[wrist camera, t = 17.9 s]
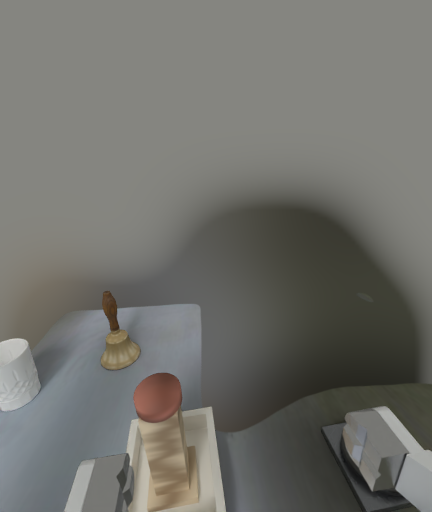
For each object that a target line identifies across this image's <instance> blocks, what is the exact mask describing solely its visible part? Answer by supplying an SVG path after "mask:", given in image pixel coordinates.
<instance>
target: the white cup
mask: <svg viewBox="0 0 432 512" xmlns="http://www.w3.org/2000/svg"><path fill="white" fill-rule="evenodd" d="M40 388H41V385H40V381H39V379H38V372H37V369H36V365H35V362H34V359H33V356H32V353H31V351H30V347H29V344H28V342H27V340H25V339H21V338H16V339H10V340H6V341H3V342H0V410H2V411H13V410H16V409H18V408H21V407H23V406H24V405H26V404H27V403H29V402H30V401H32V400H33V399H34V398H35V396H36V395H37V394H38V393H39V391H40Z"/></svg>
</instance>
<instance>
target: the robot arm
mask: <svg viewBox="0 0 432 512" xmlns="http://www.w3.org/2000/svg"><path fill="white" fill-rule="evenodd" d="M345 420H346V422H347V424H346V425H345V426H344V427H343V438H344V442H345V444H346V447H347V449H348V451H349V453H350V454H351V456H352V457H353V458H355V459H356V460H357V461H359V468H360V472H361V473H362V475H363V477H364V478H365V480H366V482H367V483H368V485H369V487H370V489H371V490H372V492H373V491H378V490H384V489H389V488H395V487H396V488H395V489H396V490H397V491H398V492H399V493H400V494H401V495H403V496H404V497H405V498H406V499H407V500H408V501H409V502H411V503H412V504H413V505H414V506H415V507H416V508H417V509H419V510H420V511H421V512H432V452H431V451H429V450H424V449H423V448H422V447H421V446H420V445H419V443H418V442H417V441H416V440H415V439H414V438H413V436H412V435H411V434H410V433H409V432H408V431H407V429H406V428H405V427H404V426H403V425H402V423H401V422H400V421H399V420H398V419H397V418H396V416H395V415H394V414H393V413H392V412H391V411H390V409H388V408H387V407H385V406H381V407H376V408H369V409H364V410H359V411H354V412H350V413H347V414H346V416H345ZM129 463H130V457H129V454H128V453H124V454H118V455H112V456H107V457H101V458H94V459H89V460H83V461H82V462H81V463H80V465H79V467H78V469H77V473H76V476H75V479H74V482H73V485H72V488H71V491H70V494H69V497H68V500H67V503H66V506H65V510H64V512H129V511H128V507H129V505H130V503H131V502H132V500H133V494H134V471H133V467H132V466H130V465H129Z"/></svg>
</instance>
